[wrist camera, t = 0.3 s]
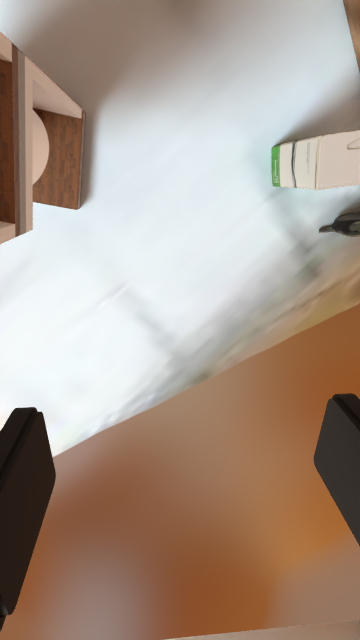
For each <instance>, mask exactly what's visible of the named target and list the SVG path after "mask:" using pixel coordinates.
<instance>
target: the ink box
mask: <svg viewBox="0 0 360 640" xmlns="http://www.w3.org/2000/svg"><path fill="white" fill-rule="evenodd" d="M272 182H273V186H277V187H289V188H302V189H313V190H321V189H329V188H336V187H343V186H349V185H356V184H360V130H355V131H347V132H340V133H332V134H326V135H320V136H315V137H310V138H305V139H301V140H296V141H292V142H288V143H284V144H280V145H276V146H274V147H272Z"/></svg>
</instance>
